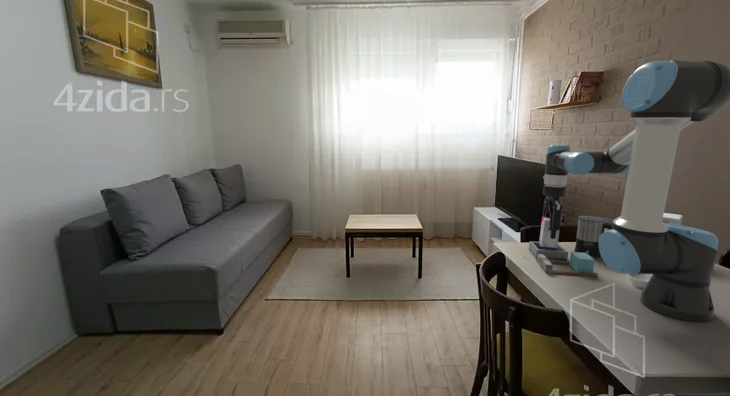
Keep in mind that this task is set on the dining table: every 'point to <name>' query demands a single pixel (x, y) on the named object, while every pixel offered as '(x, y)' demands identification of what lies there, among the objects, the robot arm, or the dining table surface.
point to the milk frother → (590, 234)
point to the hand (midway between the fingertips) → (548, 243)
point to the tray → (548, 252)
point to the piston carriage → (581, 262)
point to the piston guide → (548, 268)
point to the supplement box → (546, 234)
